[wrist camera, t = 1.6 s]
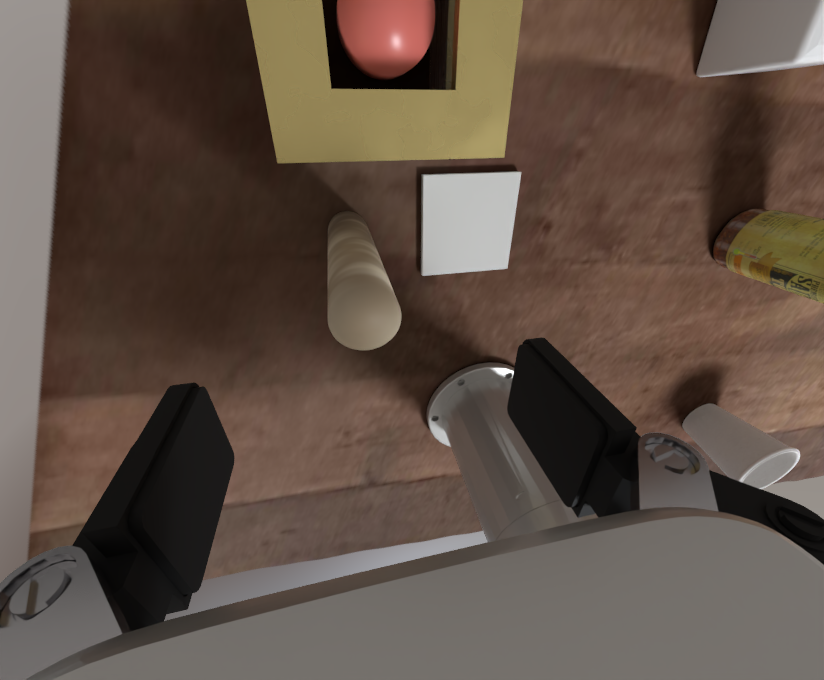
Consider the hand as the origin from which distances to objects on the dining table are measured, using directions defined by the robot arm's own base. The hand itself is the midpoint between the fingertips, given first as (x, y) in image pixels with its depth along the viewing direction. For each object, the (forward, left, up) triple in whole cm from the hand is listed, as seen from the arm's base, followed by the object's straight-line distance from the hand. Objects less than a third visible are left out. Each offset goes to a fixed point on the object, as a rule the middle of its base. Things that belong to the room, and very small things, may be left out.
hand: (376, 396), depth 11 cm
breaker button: (-3, -12, -18) cm, 21 cm away
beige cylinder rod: (0, 0, -20) cm, 20 cm away
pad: (-10, 0, -20) cm, 23 cm away
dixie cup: (-50, +31, -20) cm, 62 cm away
